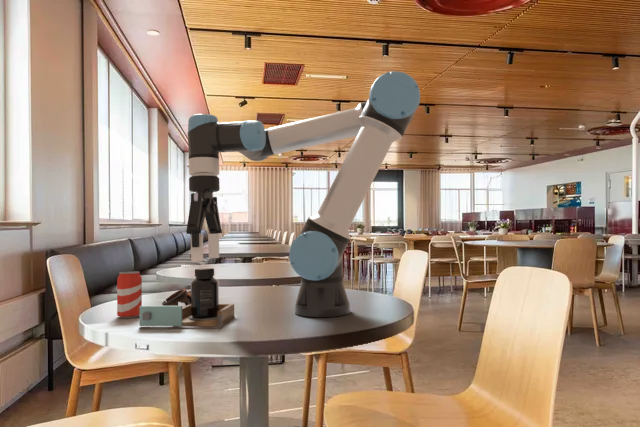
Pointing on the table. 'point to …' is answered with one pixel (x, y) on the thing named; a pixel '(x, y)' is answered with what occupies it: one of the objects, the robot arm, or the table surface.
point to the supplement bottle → (204, 294)
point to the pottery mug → (178, 298)
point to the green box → (160, 315)
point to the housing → (201, 319)
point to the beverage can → (129, 294)
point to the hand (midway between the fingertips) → (206, 259)
